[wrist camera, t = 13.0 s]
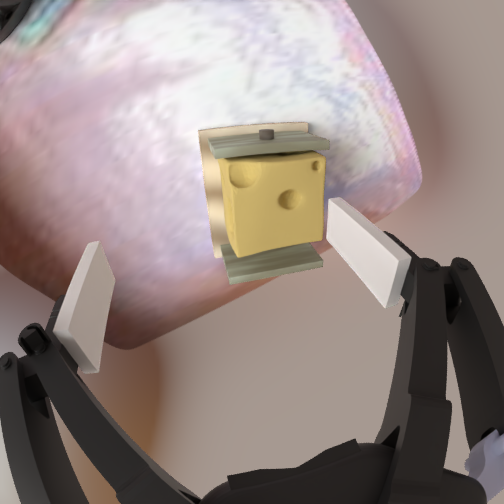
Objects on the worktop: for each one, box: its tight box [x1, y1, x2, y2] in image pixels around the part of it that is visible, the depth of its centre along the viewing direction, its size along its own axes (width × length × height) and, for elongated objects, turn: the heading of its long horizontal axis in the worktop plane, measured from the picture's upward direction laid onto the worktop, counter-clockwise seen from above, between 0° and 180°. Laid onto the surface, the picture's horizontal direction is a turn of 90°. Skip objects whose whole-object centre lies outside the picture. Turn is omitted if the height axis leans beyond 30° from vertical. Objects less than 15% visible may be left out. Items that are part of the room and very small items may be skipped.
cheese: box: [217, 150, 326, 258], centre depth 32 cm, size 10×11×10 cm
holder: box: [198, 122, 329, 285], centre depth 35 cm, size 18×14×10 cm
